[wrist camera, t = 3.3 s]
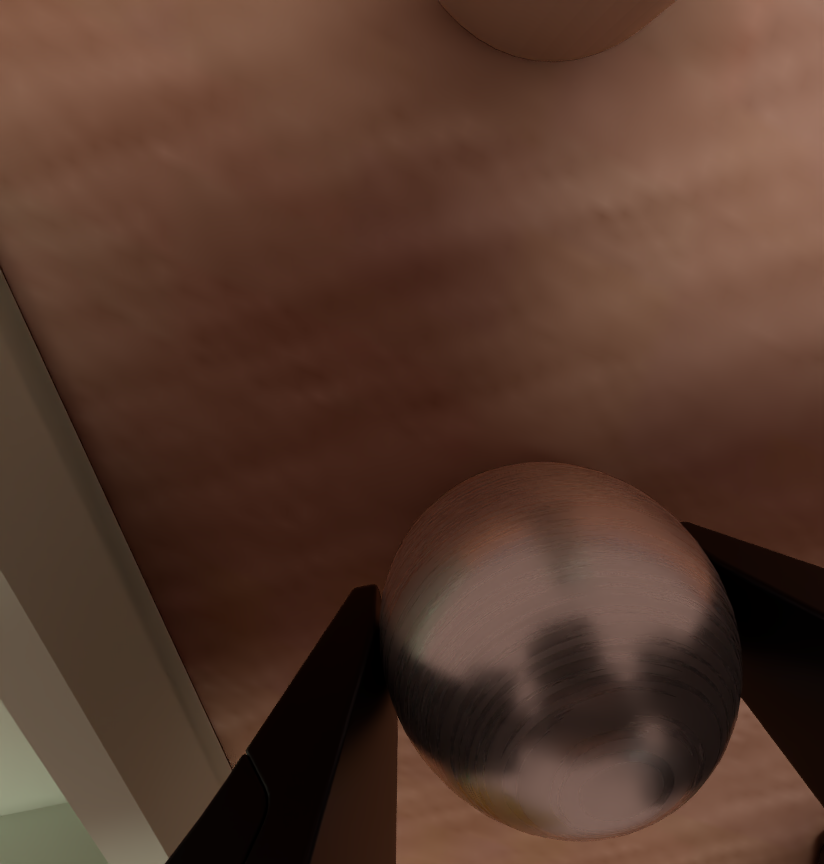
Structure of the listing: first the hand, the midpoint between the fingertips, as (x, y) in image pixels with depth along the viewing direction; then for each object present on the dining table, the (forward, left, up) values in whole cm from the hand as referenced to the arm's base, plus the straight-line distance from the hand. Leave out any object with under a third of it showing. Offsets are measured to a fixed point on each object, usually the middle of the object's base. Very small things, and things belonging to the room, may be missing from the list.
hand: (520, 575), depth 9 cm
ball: (0, 0, -1) cm, 1 cm away
